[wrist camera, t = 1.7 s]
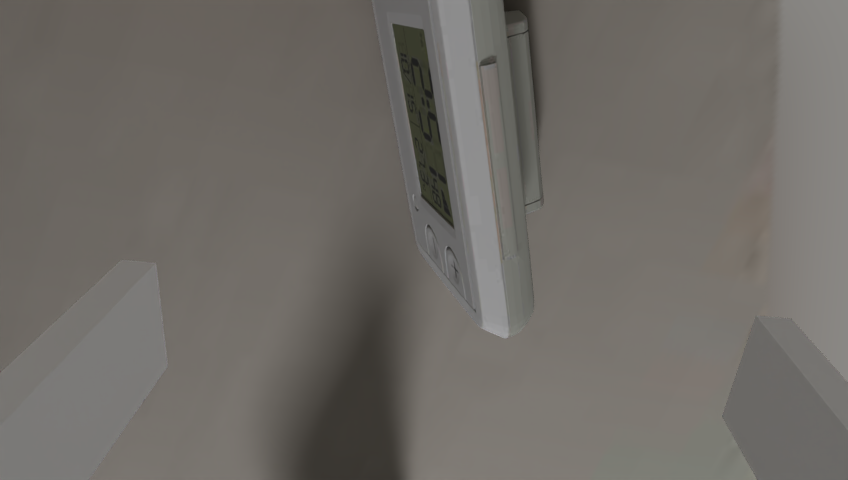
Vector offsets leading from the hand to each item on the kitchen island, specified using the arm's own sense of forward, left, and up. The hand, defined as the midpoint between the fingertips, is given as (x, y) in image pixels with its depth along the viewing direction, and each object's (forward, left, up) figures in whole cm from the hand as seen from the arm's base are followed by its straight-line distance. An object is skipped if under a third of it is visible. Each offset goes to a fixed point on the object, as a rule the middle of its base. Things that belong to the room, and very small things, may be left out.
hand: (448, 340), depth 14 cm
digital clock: (0, 0, -22) cm, 22 cm away
